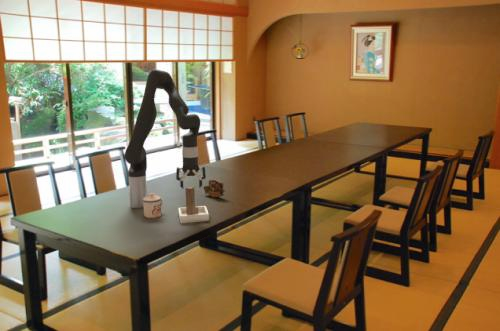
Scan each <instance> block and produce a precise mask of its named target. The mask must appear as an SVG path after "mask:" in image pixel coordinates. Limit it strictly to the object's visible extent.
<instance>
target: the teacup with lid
mask: <svg viewBox="0 0 500 331" xmlns="http://www.w3.org/2000/svg"><path fill="white" fill-rule="evenodd" d="M143 204H144V208H143V215H144V217H145V218H148V219H149V218H150V219H152V218H153V219H154V218H158V217H161V215H162V205H163V200H162V197H160V196H159V195H156V194H155V193H154V192H150V193H149V195H148V194H147V197H144V198H143Z"/></svg>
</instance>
